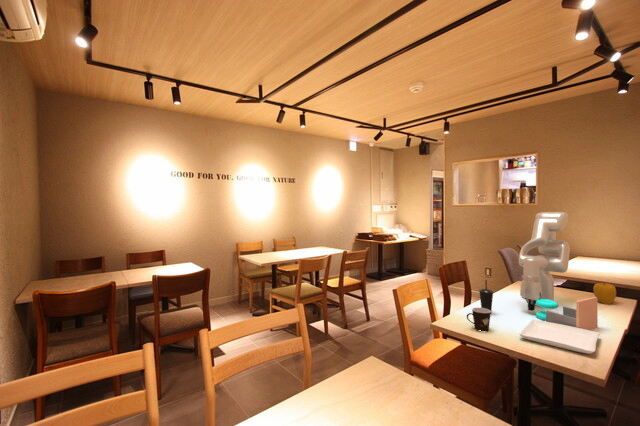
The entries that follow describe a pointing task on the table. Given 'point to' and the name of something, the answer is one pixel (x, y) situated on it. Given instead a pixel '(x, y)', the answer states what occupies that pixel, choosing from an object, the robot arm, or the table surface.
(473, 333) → the table surface
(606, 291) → the apple
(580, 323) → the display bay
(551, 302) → the donuts
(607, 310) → the table surface
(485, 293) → the drinking cup
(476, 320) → the coffee mug
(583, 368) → the table surface
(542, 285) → the robot arm
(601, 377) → the table surface
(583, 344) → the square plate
